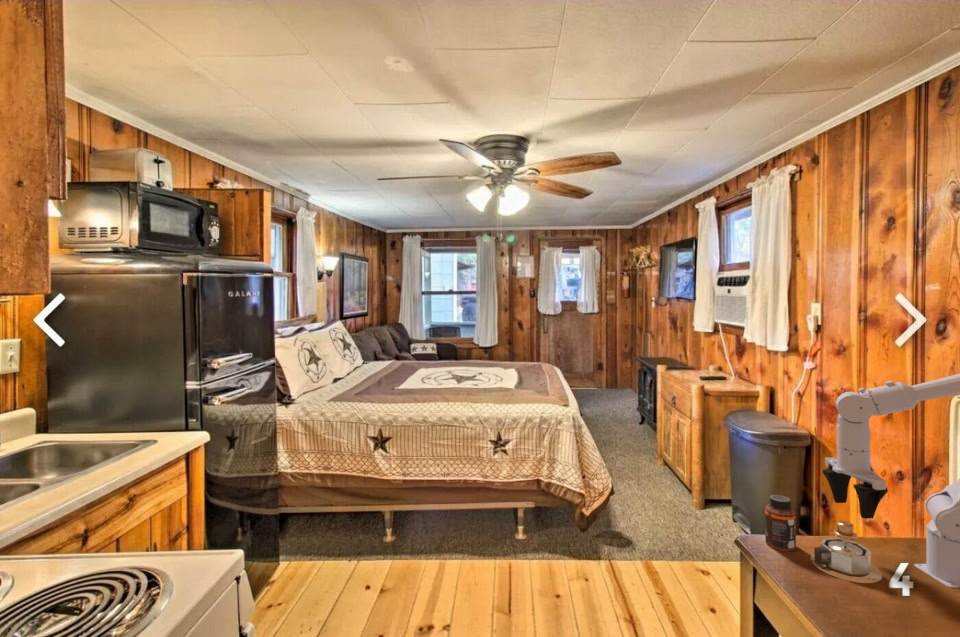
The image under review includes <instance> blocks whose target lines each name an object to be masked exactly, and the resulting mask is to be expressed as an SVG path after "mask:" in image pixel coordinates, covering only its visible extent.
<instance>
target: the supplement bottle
mask: <svg viewBox="0 0 960 637" xmlns="http://www.w3.org/2000/svg"><path fill="white" fill-rule="evenodd" d="M791 505H792V503H791V498H790V497H788V496H785V495H782V494H781V495H780V494H771V495H770V496H769V503H768V504H767V505H766V506H765V509H764V511H765V512H764V515H765V516H764V522H765V523H764V524H765V525H764V526H765V527H764V528H765V533H764V536H765V538H764V539H765V544H766V545H767V546H768V547H770V548H771V549H773V550H776V551H780V552H786V553H787V552H788V553H789V552H790V553H791V552H793V551H795V550H796V548H797V547H796V546H797V527H796V526H797V518H796V516H797V514H796V511H795V509H794V508H793V507H792V506H791Z"/></svg>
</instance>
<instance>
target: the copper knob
mask: <svg viewBox="0 0 960 637" xmlns="http://www.w3.org/2000/svg"><path fill="white" fill-rule="evenodd" d="M854 527H855V526H854V524H853V523H851V522H849V521H846V520H838V521H836V528H834V529H833V532H832V533H833V535H834V536H835V537H837V538H842V539H843V541H831V542H829V543H828V547H829V548H830V549H831V550H833V551H835V552H838V553H842V554H845V555H849V556H863V551H862V549H861V548H859V547H857V546H856V545H853V544H850V543H847V540H849V541H854V540H857V539H858V534H857V533H856V532H855V531H854V530H855V529H854Z"/></svg>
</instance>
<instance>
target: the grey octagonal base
mask: <svg viewBox="0 0 960 637" xmlns="http://www.w3.org/2000/svg"><path fill="white" fill-rule="evenodd" d="M831 541H843V538H840V537H823V538H822V540H821V542H820V546H819V547H814V550H813V551H814V552H813V553H812V554H811V555H810V558H809V559H810V562H811V563H812V564H813V566H814V567H816V568H817V569H819V570H820V571H821V572H824V573H826V574H827V575H830V576H833V577H835V578H838V579H840V580H843V581H844V580H845V581H848V582H853V583H859V584H860V583H861V584H872V583H877V582H880V581H881V580H882V578H883V573H882V571H881V570H880V569H879V568H878V566H876V565H874V564H873V563H872V557H871V556H872V552H871V550H870V549H868V548H867V547H865V546H864V545H862V544H861V543H859V542H856V541H854V540H848V539H847V543H850V544H853V545H856V546H857V547H859V548H861V549H862V551H863V556H849V555H845V554H842V553H838V552H835V551H833V550H831V549H830V548H829V547H828V543H829V542H831Z"/></svg>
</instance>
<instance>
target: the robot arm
mask: <svg viewBox="0 0 960 637" xmlns="http://www.w3.org/2000/svg"><path fill="white" fill-rule="evenodd" d="M884 383H885V385H881V386H880V385H879V386H877V387H872V388H866V389H865V387H860V388H858V392H856V391H845V392H842V393H841V394H840V395H839V396H838V397H837V399H836V401H835V402H834V403H835V408H836V410H837V412H838V414H837V415H838V416H837V420H836V422H837V425H836V457H834V456H832V457H824V466H825V467H827V468H823V469H822V474H823V476H824V477H825V478H826V480H827V482H828V484H829V485H828V486H829V487H830V491H831V494H832V497H833V501H834V503H836V504H846V503H847V500H848V491H849V484H850V480H851V478H854V479H856V480H857V481H859V482H862V483H860V484H859V483H857V484H856V483H855V484H854V483H853V488H854V490H855V491H856V495H857V499H858V504H859V513H860V516H861V518H862V519H874V518H875V515H876V511H877V509H878V506H879V504H880V502H881V500H882V499H883V498H884V497H885V495H886V494H887V493H888V491H889V490H888V489H889V488H887V487H886V485H887V482H886V479H883V478H881V477H880V476H879V475H877V474H876V472H874V471H873V470H871V428H869V426H870V419H871V418H872V416H875V417H879V416H885V415H890V414H895V413H900V412H904V411H909V410H913V409H915V408H916V406H917V404H919V403H920V402H924V401H929V400H933V399H940V398H947V397H951V396H959V395H960V373H957V374H953V375H949V376H945V377H942V378H937V379H933V380H929V381H925V382H922V383H918V384H914V385H909V384H907V383H904V382H901V381H898V382H894V381H893V380H887V381H884ZM925 509H926V512H927V514H928V515H929V516H930V517H931V519H930V521H929V522H928V523H927V524H926V534H925V537H926V546H925V547H926V553H925V554H926V555H925V556H926V558H925V559H926V561H925V563H914V564H913V566H914V567H915V568H917V569H918V570H920V571H922V572H923V573H925V574H927V575H928V576H930V577H932V579H934V580H936V581H937V582H940V583H941V584H942V585H944V586H946V587H947V588H951V589H959V588H960V477H959V478H958V479H957V480H956V482H953V483H951V484H948V485H946V486H945V487H944V488H943V489H942V490H941V491H939V492H936V493H933V494H931V495H929V497H927V499H926V501H925Z"/></svg>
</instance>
